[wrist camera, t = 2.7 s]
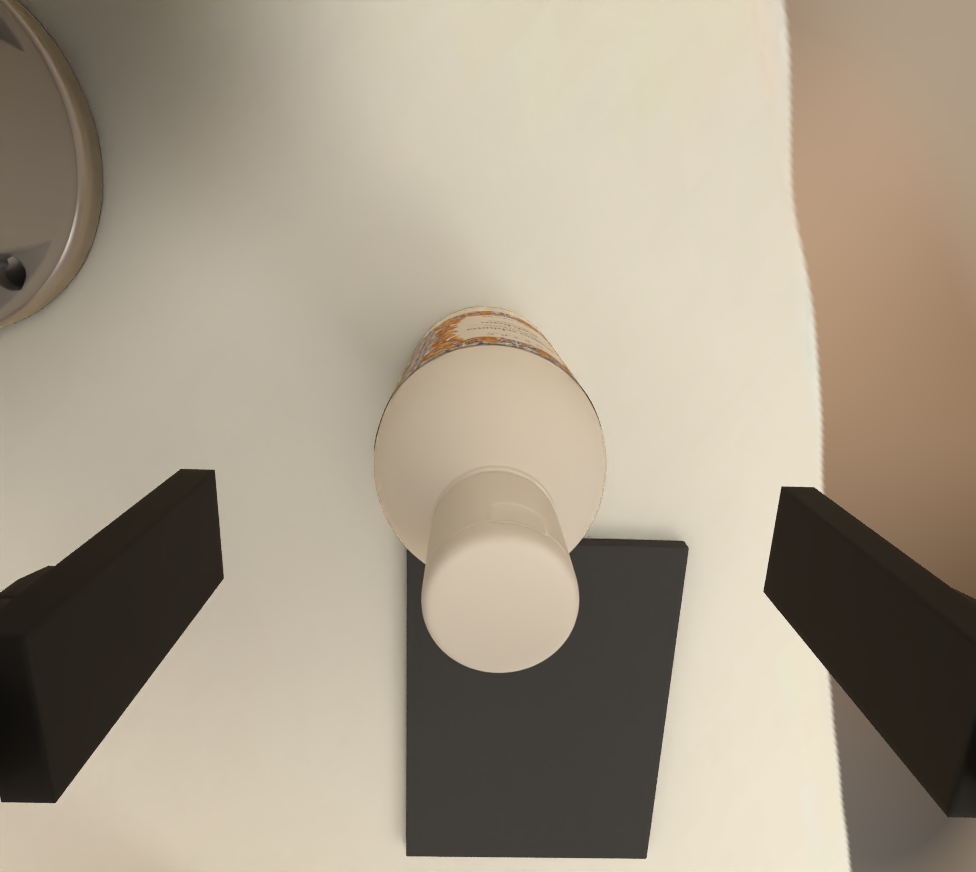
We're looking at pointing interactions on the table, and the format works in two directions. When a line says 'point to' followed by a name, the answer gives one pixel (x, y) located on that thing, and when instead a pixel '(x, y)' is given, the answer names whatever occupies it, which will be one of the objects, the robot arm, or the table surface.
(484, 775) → the desk mat
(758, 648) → the table surface
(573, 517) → the bath foam
